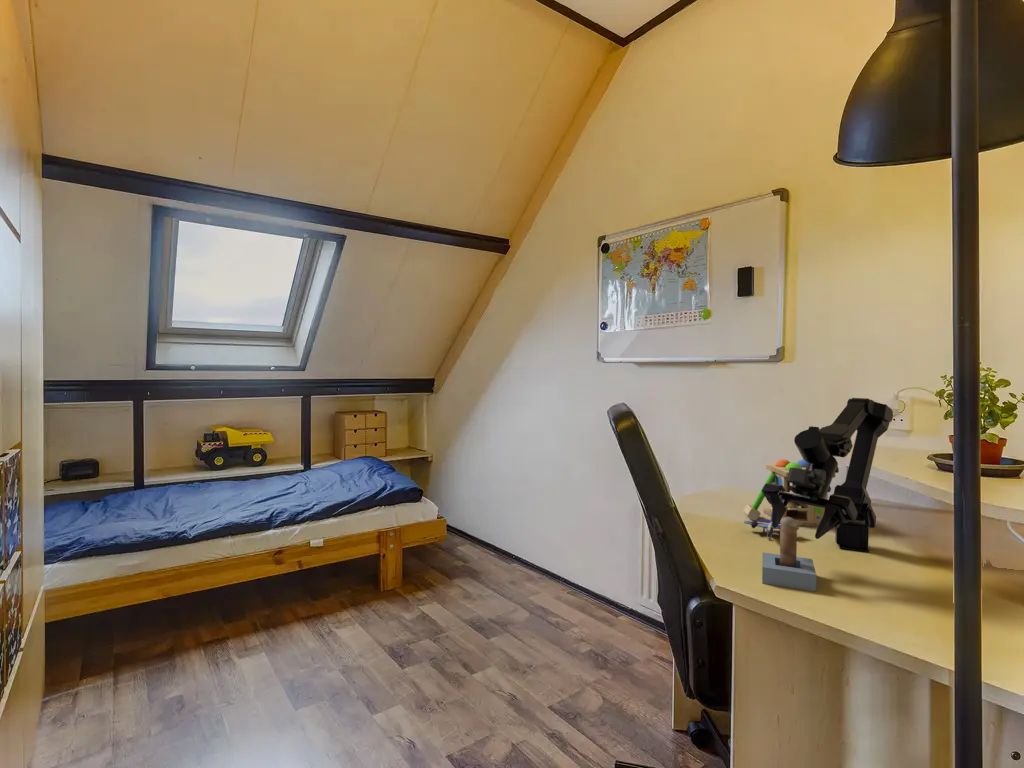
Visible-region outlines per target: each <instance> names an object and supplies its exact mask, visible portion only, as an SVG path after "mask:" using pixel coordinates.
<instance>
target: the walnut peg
mask: <svg viewBox="0 0 1024 768" xmlns="http://www.w3.org/2000/svg"><path fill="white" fill-rule="evenodd" d="M779 525H780V529H779V530H780V534H779V555H780V566H786V567H793V568H796V557H797V547H798V546H797V544H798V543H797V541H798V536H797V535H798V530H797V527H798V526H797V523H796V521H795V520H794V519H793V518H791V517H784V518H783V519H782V520H781V522H780V524H779Z"/></svg>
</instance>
